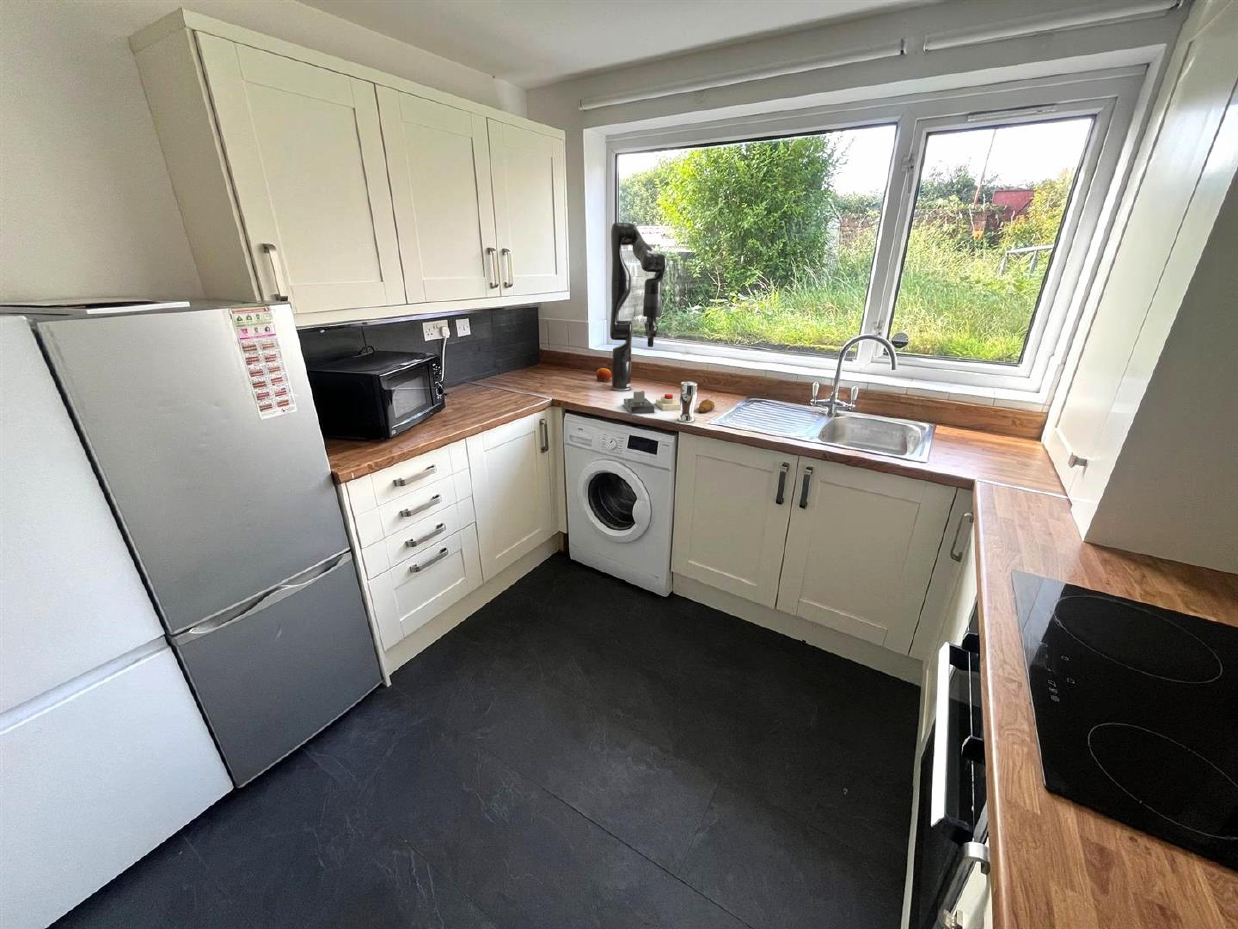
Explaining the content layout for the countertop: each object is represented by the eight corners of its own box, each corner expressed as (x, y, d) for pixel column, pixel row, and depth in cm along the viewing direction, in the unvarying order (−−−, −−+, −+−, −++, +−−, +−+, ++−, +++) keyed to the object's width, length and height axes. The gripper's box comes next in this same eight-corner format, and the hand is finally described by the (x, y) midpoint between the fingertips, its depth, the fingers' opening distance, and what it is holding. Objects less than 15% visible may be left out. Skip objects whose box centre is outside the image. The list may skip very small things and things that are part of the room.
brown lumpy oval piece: (709, 415, 209) (710, 403, 207) (693, 412, 212) (694, 401, 210) (719, 407, 220) (720, 396, 218) (704, 405, 223) (705, 394, 221)
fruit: (594, 379, 261) (595, 365, 263) (596, 384, 269) (598, 370, 270) (609, 380, 260) (610, 366, 261) (611, 385, 268) (612, 371, 269)
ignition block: (655, 403, 224) (656, 395, 222) (672, 403, 226) (673, 394, 224) (663, 410, 214) (663, 401, 212) (680, 409, 216) (681, 400, 214)
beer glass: (674, 419, 201) (676, 383, 195) (684, 416, 206) (687, 380, 200) (688, 423, 196) (691, 385, 191) (698, 420, 201) (701, 383, 196)
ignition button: (663, 397, 220) (663, 393, 219) (671, 397, 220) (671, 393, 220) (665, 399, 216) (666, 395, 216) (673, 399, 217) (673, 395, 217)
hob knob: (633, 402, 213) (634, 391, 211) (633, 401, 214) (633, 390, 212) (644, 402, 214) (644, 391, 212) (643, 401, 215) (643, 390, 213)
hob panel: (623, 405, 220) (623, 398, 219) (645, 404, 222) (645, 397, 221) (631, 413, 208) (631, 406, 206) (654, 412, 210) (654, 405, 209)
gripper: (639, 303, 215) (638, 344, 222) (647, 306, 203) (646, 349, 210) (656, 303, 217) (654, 344, 223) (665, 306, 205) (663, 348, 211)
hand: (650, 346), depth 216 cm, fingers closed
